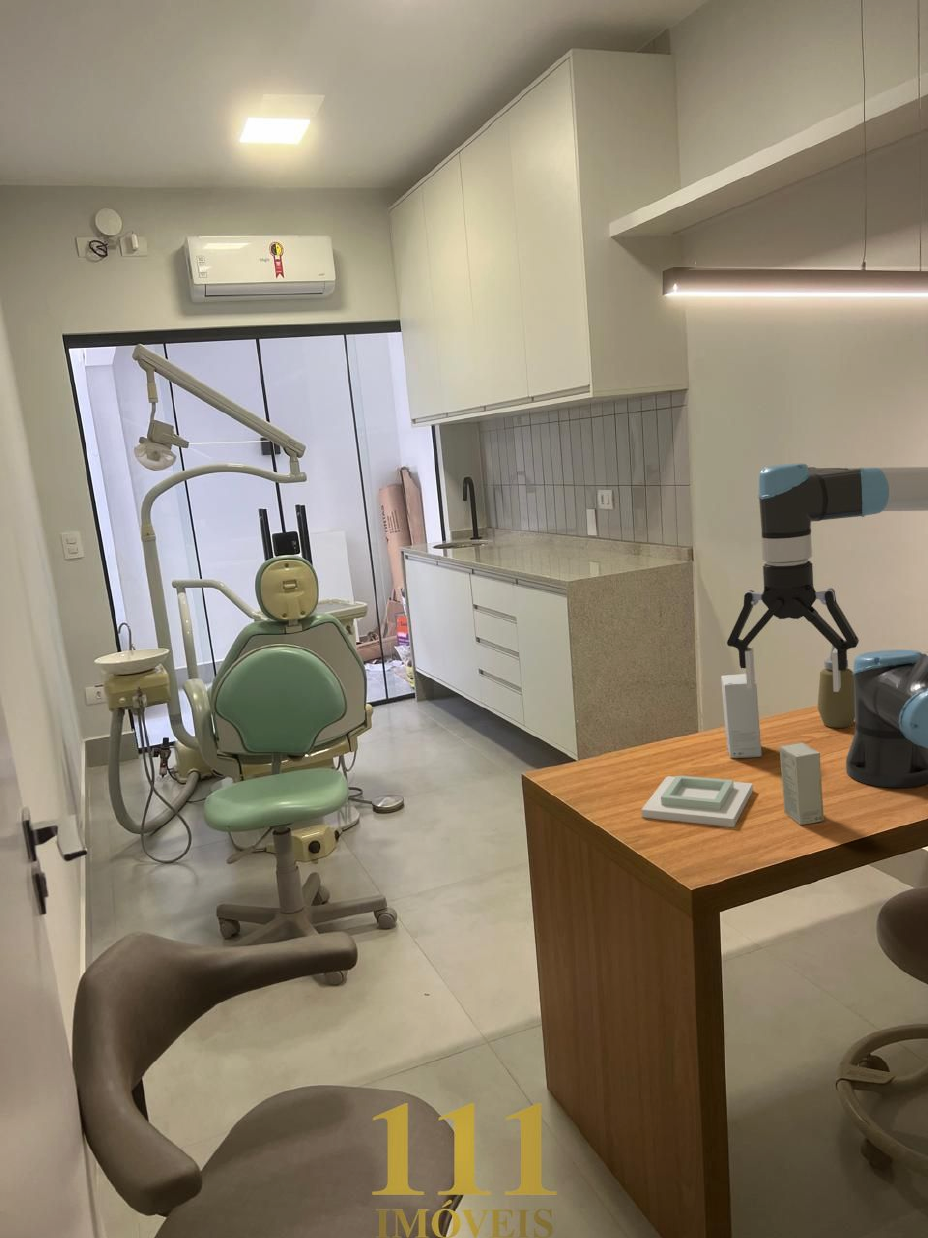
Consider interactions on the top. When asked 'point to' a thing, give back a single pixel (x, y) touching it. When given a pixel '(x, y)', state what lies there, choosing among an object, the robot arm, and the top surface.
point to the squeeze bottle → (836, 697)
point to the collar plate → (698, 800)
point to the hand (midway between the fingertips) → (793, 688)
